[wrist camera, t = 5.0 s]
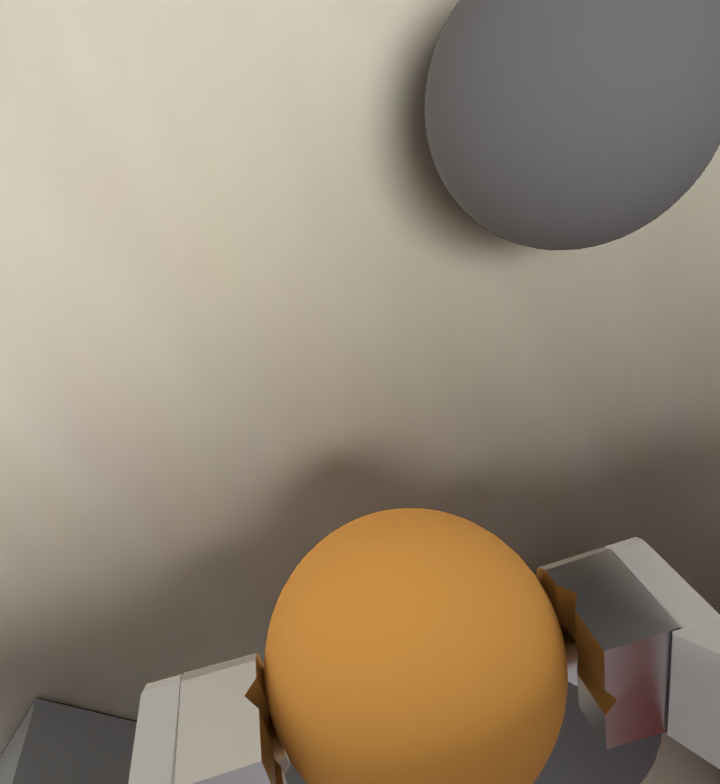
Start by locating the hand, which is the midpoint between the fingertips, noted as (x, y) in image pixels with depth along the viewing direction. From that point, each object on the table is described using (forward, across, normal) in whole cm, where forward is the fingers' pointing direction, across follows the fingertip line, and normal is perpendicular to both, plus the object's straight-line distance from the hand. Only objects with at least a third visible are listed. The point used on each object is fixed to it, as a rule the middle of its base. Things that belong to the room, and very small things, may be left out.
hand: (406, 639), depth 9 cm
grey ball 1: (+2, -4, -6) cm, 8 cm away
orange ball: (0, 0, 0) cm, 0 cm away
